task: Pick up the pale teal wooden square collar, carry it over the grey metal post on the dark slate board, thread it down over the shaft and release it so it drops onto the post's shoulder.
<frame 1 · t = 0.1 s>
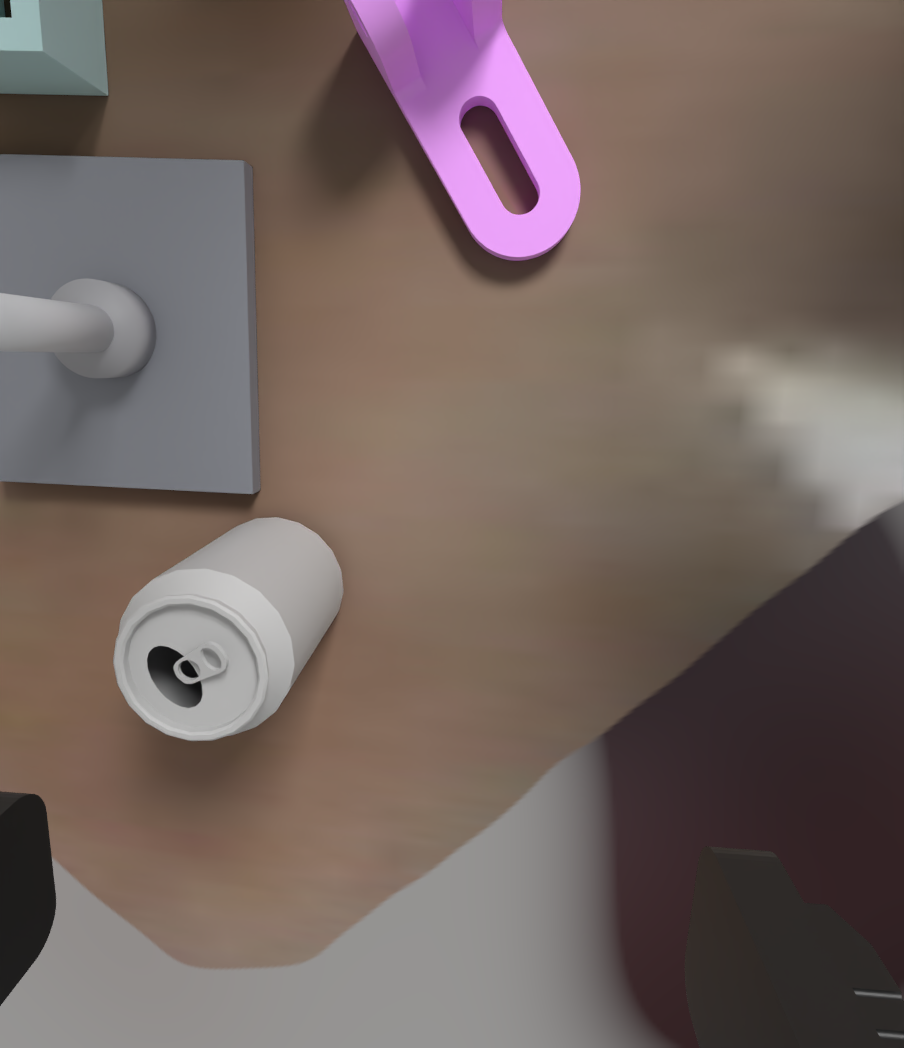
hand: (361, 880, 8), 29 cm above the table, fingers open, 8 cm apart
post block: (124, 331, 36), on the table
can: (281, 578, 39), on the table
bracket: (480, 129, 33), on the table
collar: (42, 24, 33), on the table
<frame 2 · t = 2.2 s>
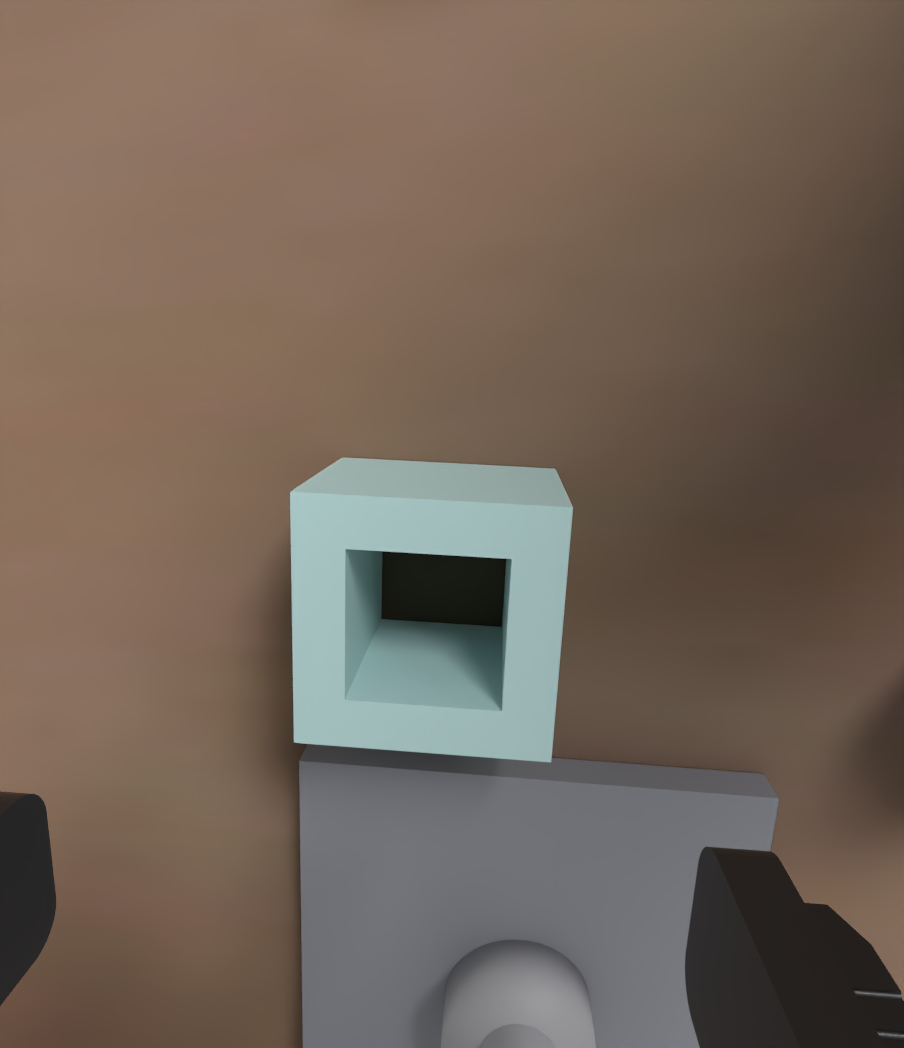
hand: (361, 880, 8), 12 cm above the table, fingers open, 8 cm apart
post block: (516, 967, 23), on the table
collar: (443, 565, 20), on the table
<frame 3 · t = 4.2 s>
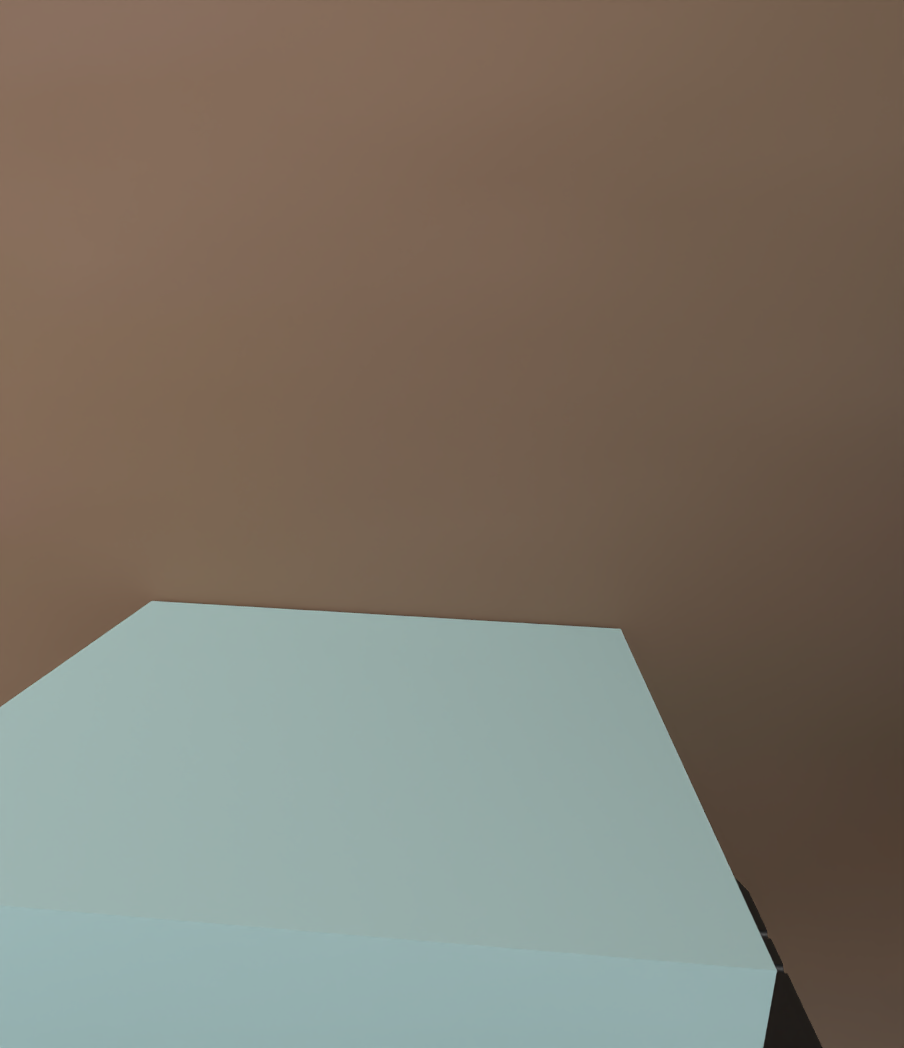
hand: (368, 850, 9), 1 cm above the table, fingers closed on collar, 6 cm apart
collar: (378, 820, 10), on the table, touching gripper
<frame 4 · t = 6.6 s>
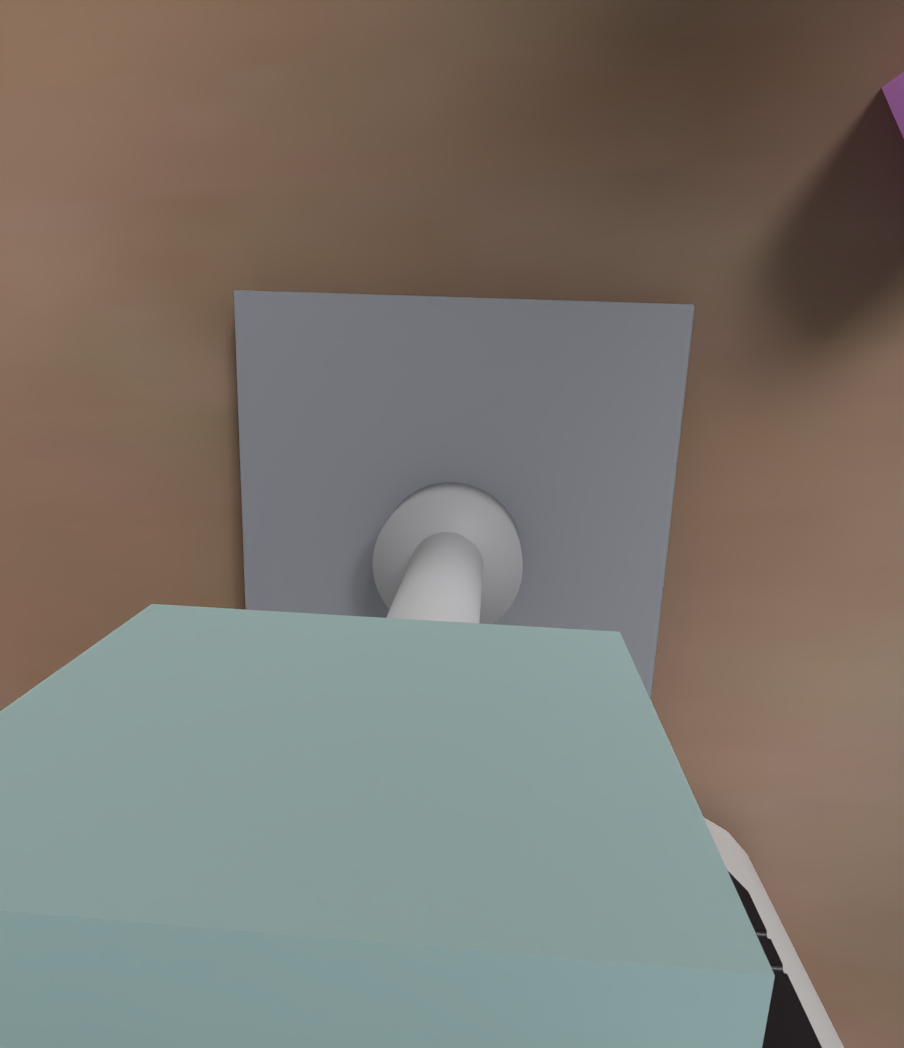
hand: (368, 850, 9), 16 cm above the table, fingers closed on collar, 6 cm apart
post block: (453, 541, 24), on the table
can: (647, 874, 27), on the table
collar: (378, 823, 10), point 15 cm above the table, touching gripper
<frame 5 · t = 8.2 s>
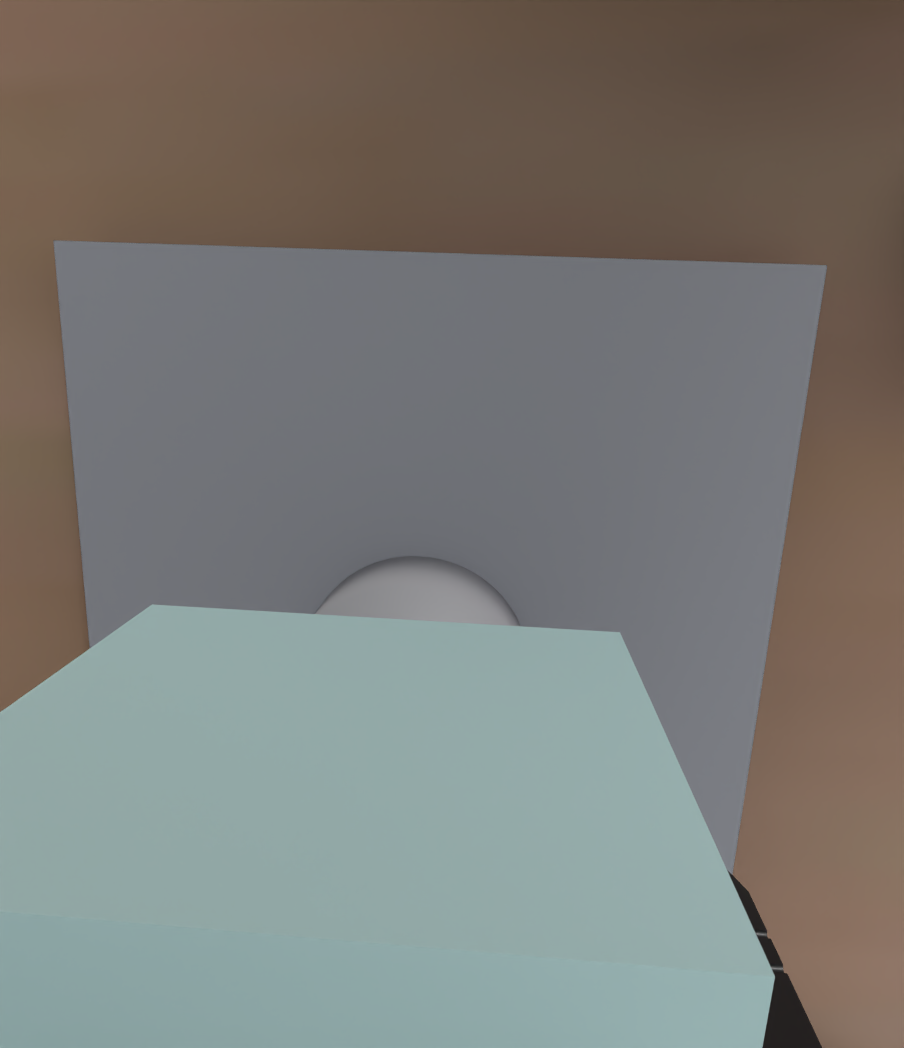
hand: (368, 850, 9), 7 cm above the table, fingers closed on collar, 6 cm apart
post block: (422, 640, 16), on the table
collar: (378, 823, 10), point 6 cm above the table, touching gripper
when the fingers open (7 cm above the table, at t = 9.5 s): collar drops 3 cm, resting on post block.
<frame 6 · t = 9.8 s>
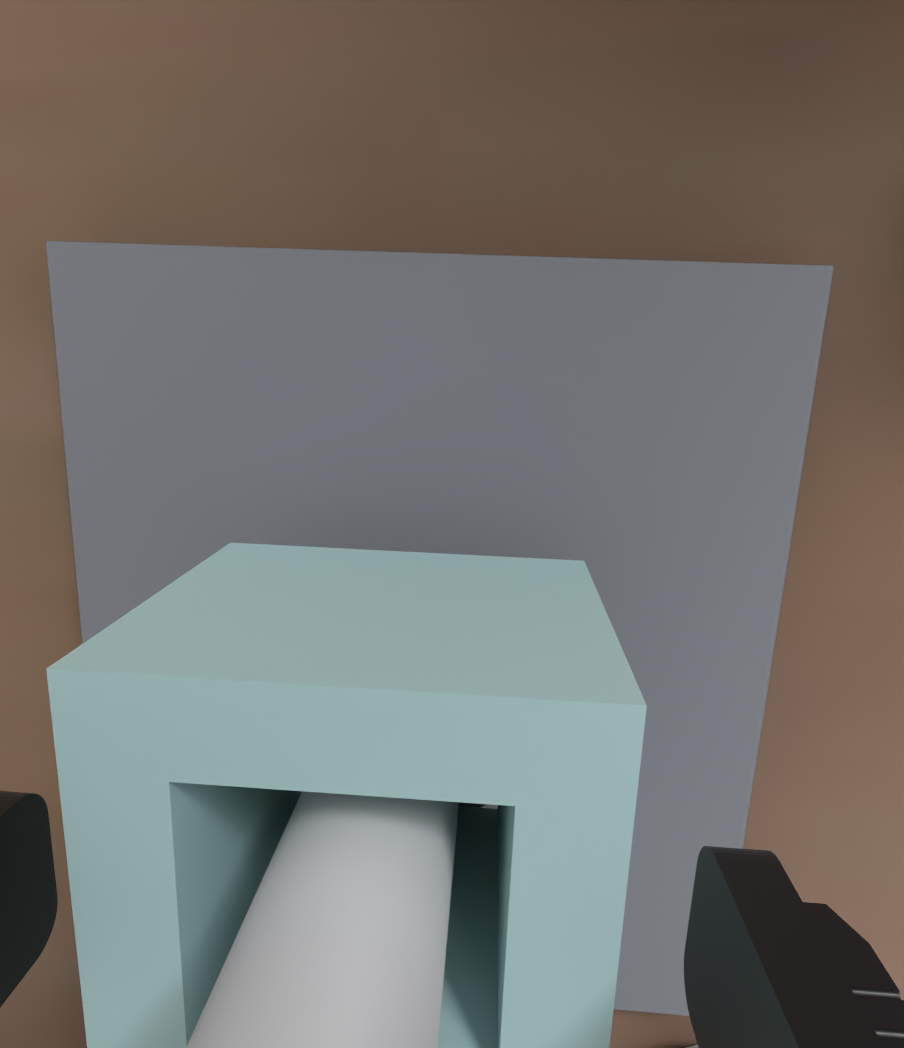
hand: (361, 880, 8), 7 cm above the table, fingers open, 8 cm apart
post block: (422, 646, 15), on the table
collar: (401, 713, 12), point 3 cm above the table, touching post block
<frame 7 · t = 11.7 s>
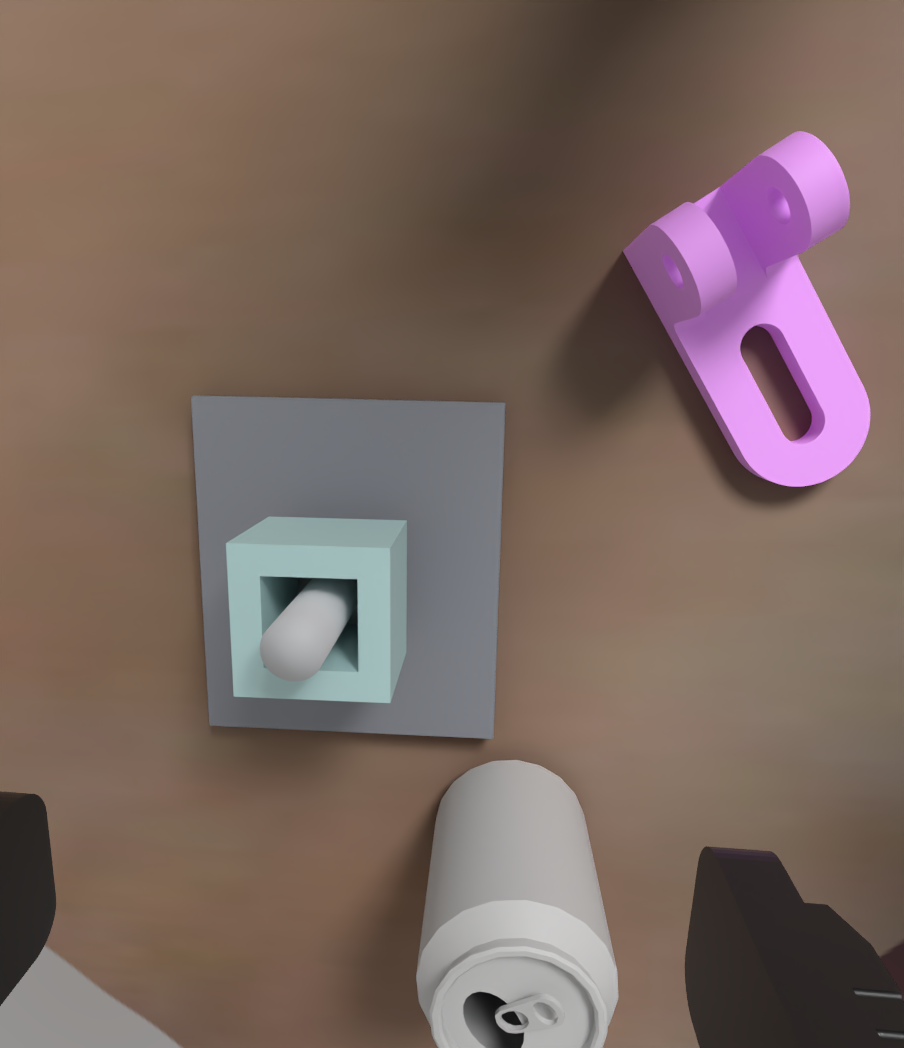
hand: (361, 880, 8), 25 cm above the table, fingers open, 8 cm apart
post block: (353, 567, 34), on the table
can: (509, 814, 36), on the table
bracket: (749, 347, 31), on the table
collar: (338, 585, 31), point 3 cm above the table, touching post block
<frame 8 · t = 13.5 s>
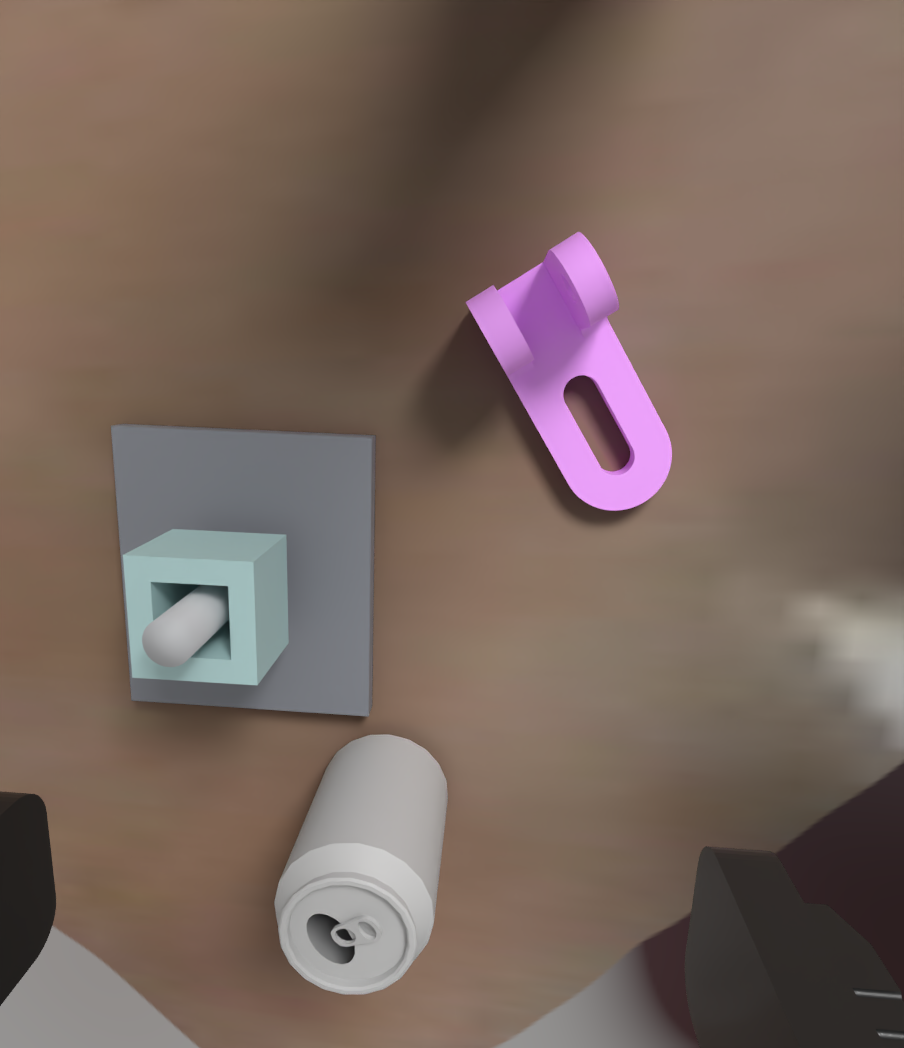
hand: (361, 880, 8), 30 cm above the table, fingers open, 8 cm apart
post block: (252, 570, 40), on the table
can: (388, 780, 43), on the table
bracket: (578, 392, 37), on the table
collar: (231, 586, 37), point 3 cm above the table, touching post block
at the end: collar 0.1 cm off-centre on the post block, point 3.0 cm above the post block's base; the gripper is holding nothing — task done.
